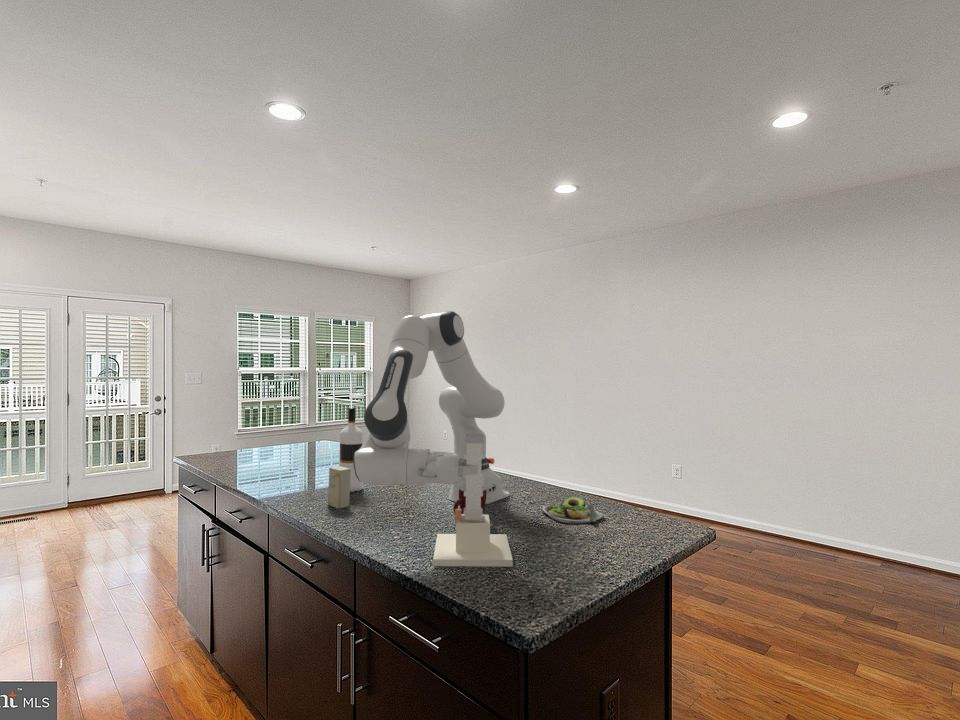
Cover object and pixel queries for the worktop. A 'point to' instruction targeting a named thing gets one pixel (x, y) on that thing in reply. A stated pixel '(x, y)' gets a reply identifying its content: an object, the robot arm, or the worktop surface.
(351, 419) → the vodka
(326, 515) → the worktop surface
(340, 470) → the skincare box
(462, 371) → the robot arm
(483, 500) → the mug
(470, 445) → the column
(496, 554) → the stand
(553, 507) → the salad plate
